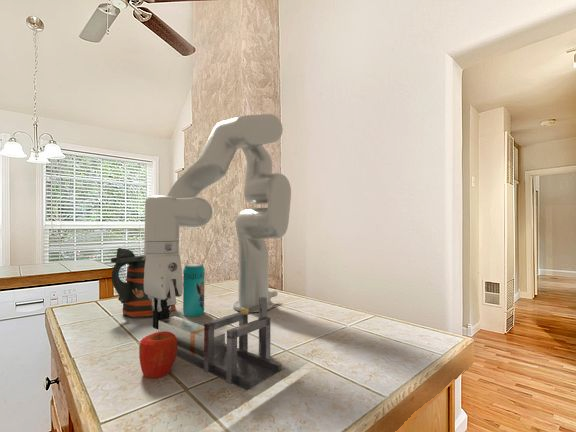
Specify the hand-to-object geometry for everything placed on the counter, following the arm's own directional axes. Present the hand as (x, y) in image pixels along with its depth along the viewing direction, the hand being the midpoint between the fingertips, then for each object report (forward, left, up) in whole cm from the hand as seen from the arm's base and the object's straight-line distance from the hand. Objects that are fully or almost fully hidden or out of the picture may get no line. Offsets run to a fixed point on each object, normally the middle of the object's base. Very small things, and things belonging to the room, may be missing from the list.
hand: (161, 326), depth 71 cm
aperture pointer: (-4, +26, -2) cm, 27 cm away
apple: (+10, +17, -3) cm, 20 cm away
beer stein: (-7, -23, -3) cm, 24 cm away
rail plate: (0, +17, -3) cm, 18 cm away
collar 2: (0, +29, -3) cm, 30 cm away
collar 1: (0, +23, -3) cm, 24 cm away
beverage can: (-14, -8, -3) cm, 16 cm away
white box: (0, +11, -2) cm, 11 cm away
